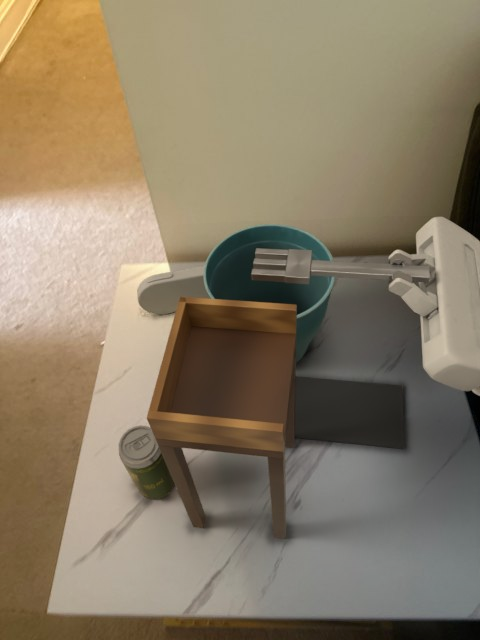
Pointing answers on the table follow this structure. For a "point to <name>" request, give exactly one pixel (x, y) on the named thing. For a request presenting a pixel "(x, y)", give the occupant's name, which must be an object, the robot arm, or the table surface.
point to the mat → (349, 412)
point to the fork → (323, 268)
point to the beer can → (145, 462)
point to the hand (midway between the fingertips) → (392, 269)
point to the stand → (227, 391)
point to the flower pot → (236, 281)
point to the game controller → (170, 289)
